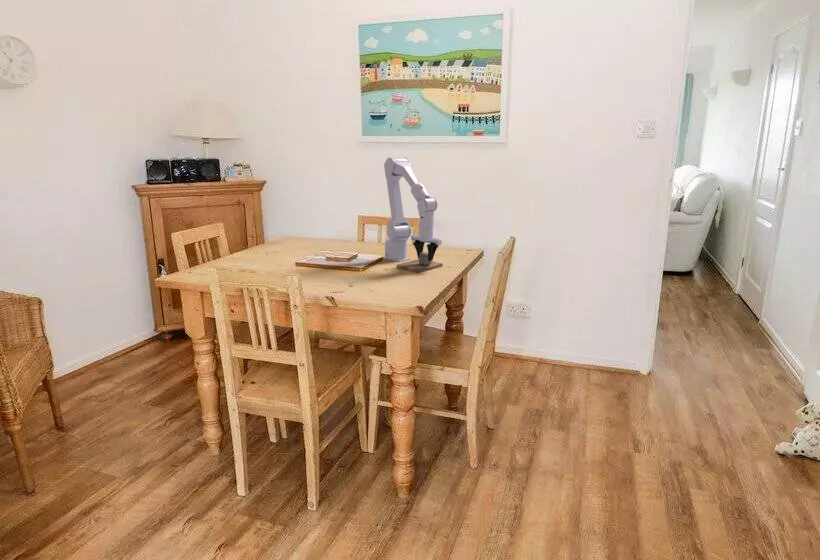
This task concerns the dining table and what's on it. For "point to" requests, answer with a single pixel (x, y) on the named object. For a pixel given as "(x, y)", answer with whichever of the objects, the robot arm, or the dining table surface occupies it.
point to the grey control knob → (424, 258)
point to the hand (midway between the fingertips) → (425, 259)
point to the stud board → (418, 266)
